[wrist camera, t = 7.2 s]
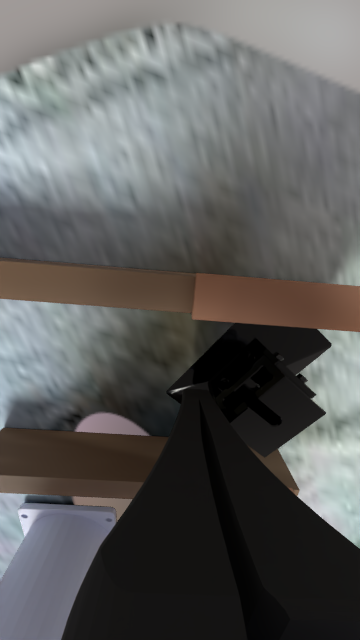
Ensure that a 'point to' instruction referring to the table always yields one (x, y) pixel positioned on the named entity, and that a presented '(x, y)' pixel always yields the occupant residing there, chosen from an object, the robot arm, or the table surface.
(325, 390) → the table surface
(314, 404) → the black piece
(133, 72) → the table surface
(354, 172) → the table surface
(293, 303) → the walled channel
